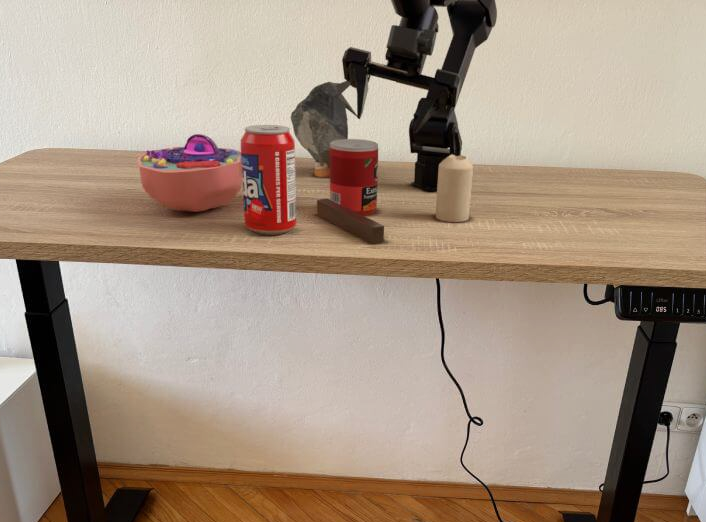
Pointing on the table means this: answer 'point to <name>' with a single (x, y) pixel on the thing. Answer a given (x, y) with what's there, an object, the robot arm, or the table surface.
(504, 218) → the table surface
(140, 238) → the table surface
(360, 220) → the walnut rail
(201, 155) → the cell model
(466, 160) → the candle
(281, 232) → the soda can
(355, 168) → the canned food
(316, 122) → the grey bird figurine
